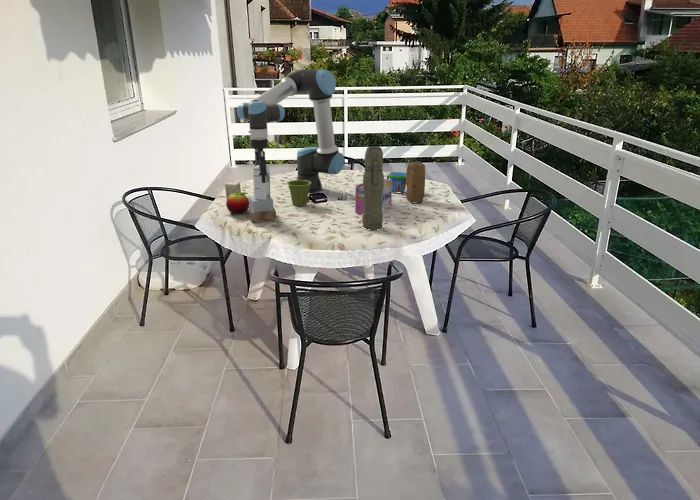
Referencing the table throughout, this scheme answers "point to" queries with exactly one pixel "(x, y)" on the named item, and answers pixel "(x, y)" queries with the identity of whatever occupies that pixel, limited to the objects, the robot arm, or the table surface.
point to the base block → (262, 216)
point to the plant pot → (299, 191)
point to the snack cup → (398, 181)
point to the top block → (260, 204)
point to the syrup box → (257, 189)
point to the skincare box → (232, 188)
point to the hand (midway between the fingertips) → (261, 186)
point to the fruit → (237, 203)
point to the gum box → (385, 196)
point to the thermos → (373, 188)
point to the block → (415, 182)
